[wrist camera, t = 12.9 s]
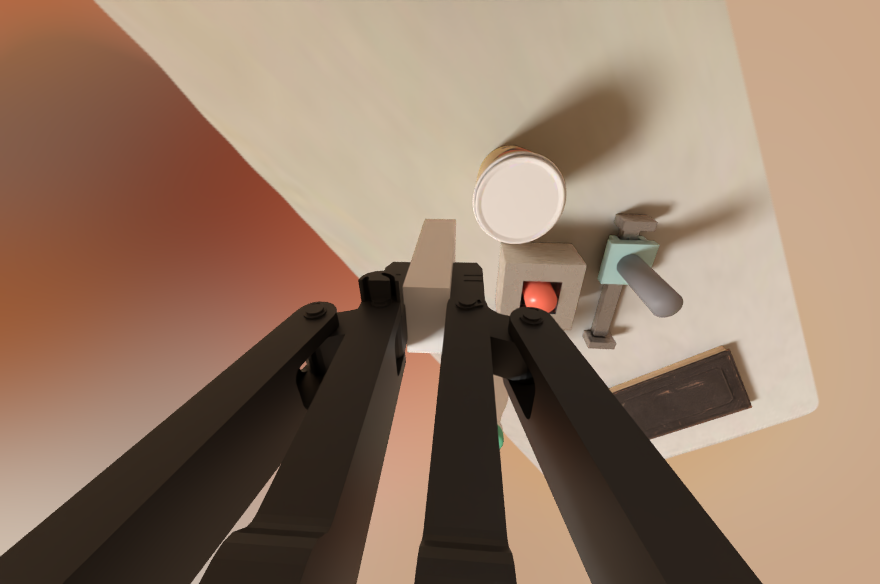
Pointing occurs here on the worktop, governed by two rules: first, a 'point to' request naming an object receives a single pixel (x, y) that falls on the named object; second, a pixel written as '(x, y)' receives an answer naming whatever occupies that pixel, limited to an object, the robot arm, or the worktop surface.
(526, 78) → the worktop surface
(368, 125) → the worktop surface
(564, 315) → the grey block with hole
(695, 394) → the hardcover book
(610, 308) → the rail
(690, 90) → the worktop surface
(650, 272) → the carriage
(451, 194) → the worktop surface
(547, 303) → the button
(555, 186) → the coffee cup
